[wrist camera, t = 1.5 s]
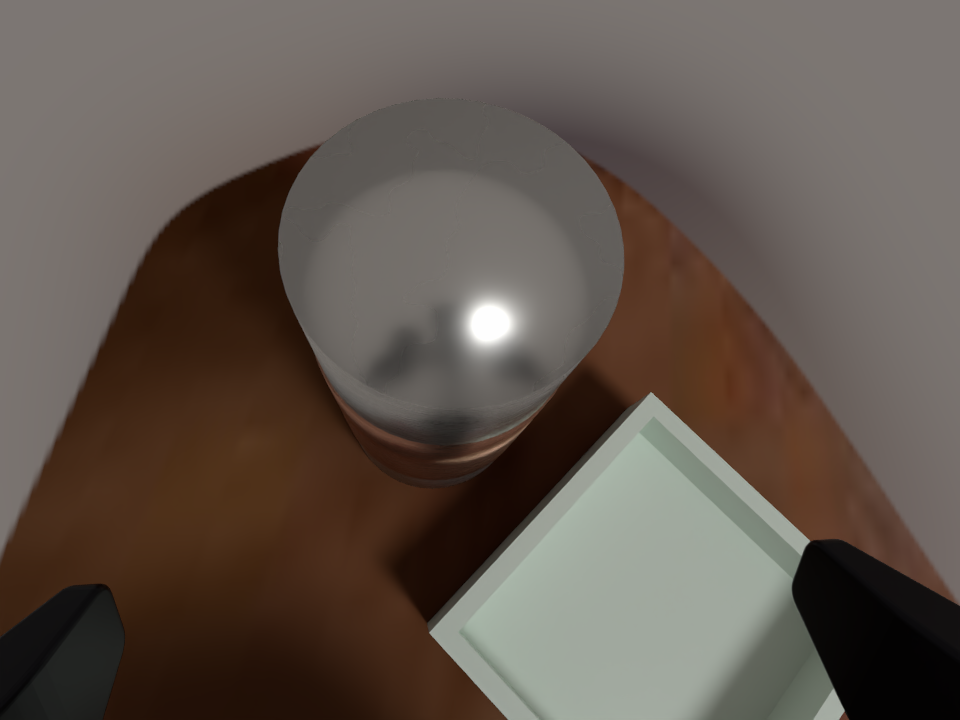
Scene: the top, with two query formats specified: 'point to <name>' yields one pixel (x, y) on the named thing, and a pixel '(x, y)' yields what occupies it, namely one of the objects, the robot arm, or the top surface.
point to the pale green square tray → (642, 593)
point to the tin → (447, 278)
